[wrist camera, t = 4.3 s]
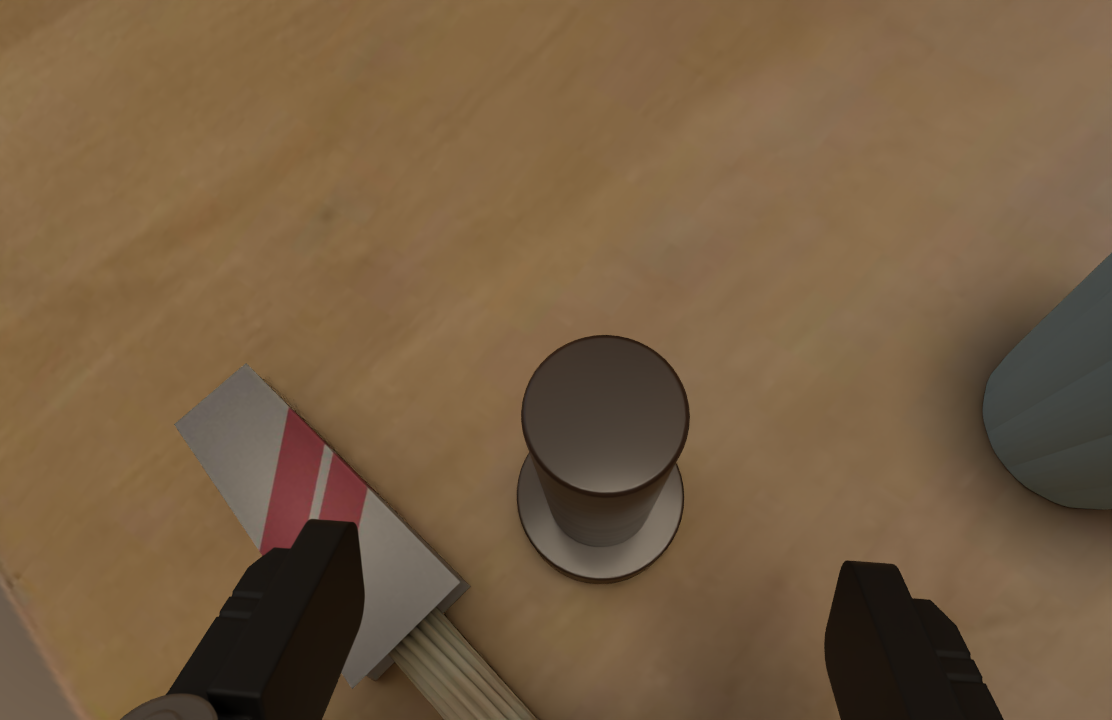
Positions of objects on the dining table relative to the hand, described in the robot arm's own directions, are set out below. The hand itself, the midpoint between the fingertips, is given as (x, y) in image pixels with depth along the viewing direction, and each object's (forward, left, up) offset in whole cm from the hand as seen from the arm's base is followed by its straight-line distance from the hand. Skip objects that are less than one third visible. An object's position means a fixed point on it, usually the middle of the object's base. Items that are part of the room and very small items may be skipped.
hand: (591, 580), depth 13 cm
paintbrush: (+3, +3, -11) cm, 12 cm away
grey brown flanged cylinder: (+1, -3, -11) cm, 11 cm away
